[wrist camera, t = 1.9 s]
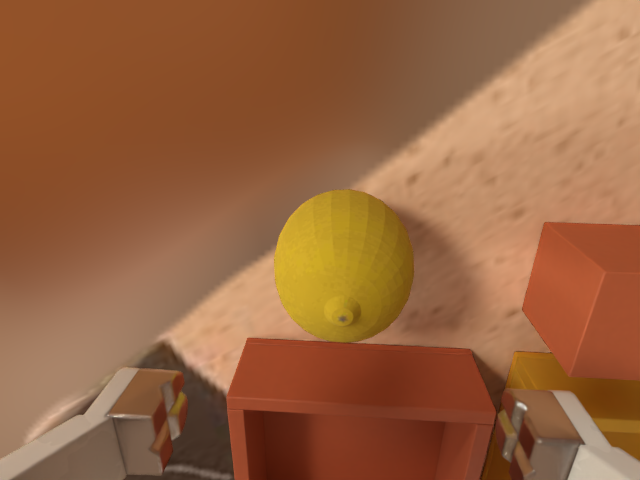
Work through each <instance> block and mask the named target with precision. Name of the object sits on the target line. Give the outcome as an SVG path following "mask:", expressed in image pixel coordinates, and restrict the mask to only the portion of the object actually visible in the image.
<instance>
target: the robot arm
mask: <svg viewBox="0 0 640 480" xmlns="http://www.w3.org/2000/svg"><path fill="white" fill-rule="evenodd" d="M183 385H184V378H183V373H182V372H180V371H173V370H161V369H148V368H142V369H141V368H130V367H123V368H121V369H119V370H118V371H117V372H116V374H115V375H114V376H113V378H112V379H111V380H110V382H109V383H108V384H107V385H106V387H105V388H104V389H103V391H102V392H101V393H100V395H99V396H98V397H97V398H96V400H95V401H94V402H93V404H92V405H91V406H90V408H89V409H88V410H87V411H86V413H85V414H84V415H77V416H75V417H73V418H71V419H70V420H68V421H66V422H64V423H63V424H61V425H59V426H57V427H56V428H54V429H52V430H51V431H49V432H47V433H45V434H44V435H42V436H40V437H38V438H37V439H35V440H33V441H31V442H30V443H28V444H26V445H24V446H23V447H21V448H19V449H17V450H16V451H14V452H12V453H11V454H9V455H7V456H5V457H4V458H2V459H0V480H123V479H124V478H125V477H126V476H127V475H126V474H138V475H162V474H163V472H164V469H165V467H166V465H167V463H168V461H169V459H170V456H171V454H172V452H173V447H172V441H173V440H175V439H176V438H177V437H179V436H180V435H181V432H182V430H183V428H184V425H185V421H186V417H187V406H188V404H187V397H186V396H185V395H184V394H183V393H182V391H181V389H182V387H183ZM501 402H502V404H503V407H504V409H503V410H502V411H501V412H500V413H498V414H497V419H496V424H495V428H496V439H497V444H498V447H499V450H500V452H501V455H502V456H503V457H504V458H505V459H506V460H508V461H509V462H510V463H511V465H510V469H509V475H510V477H511V480H640V461H639V460H637V459H636V458H634V457H633V456H631V455H630V454H628V453H627V452H625V451H624V450H622V449H621V448H619V447H612V446H611V445H610V443H609V442H608V441H607V439H606V438H605V436H604V435H603V433H602V432H601V431H600V429H599V428H598V426H597V425H596V424H595V422H594V421H593V419H592V418H591V417H590V415H589V414H588V412H587V411H586V410H585V408H584V407H583V405H582V404H581V403H580V401H579V400H578V398H577V397H576V395H575V394H574V393H572V392H571V391H563V390H531V389H509V388H506V389H505V390H504V392H503V394H502V398H501Z"/></svg>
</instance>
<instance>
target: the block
mask: <svg viewBox="0 0 640 480" xmlns="http://www.w3.org/2000/svg"><path fill="white" fill-rule="evenodd" d="M522 310H523V312H524V313H525V315H526V316H527V318H528V319H529V320H530V322H531V323H532V325H533V326H534V328H535V329H536V330H537V332H538V333H539V335H540V336H541V338H542V339H543V340H544V342H545V343H546V345H547V346H548V348H549V349H550V351H551V352H552V353H553V355H554V356H555V358H556V359H557V361H558V362H559V363H560V365H561V366H562V368H563V369H564V371H565V372H566V373H567V375H568V376H569V377H582V378H601V379H620V380H638V381H640V225H612V224H583V223H554V222H545V223H544V226H543V230H542V234H541V238H540V242H539V246H538V249H537V253H536V257H535V261H534V265H533V269H532V273H531V276H530V280H529V284H528V288H527V292H526V296H525V300H524V304H523V307H522Z"/></svg>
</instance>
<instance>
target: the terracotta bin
mask: <svg viewBox="0 0 640 480" xmlns="http://www.w3.org/2000/svg"><path fill="white" fill-rule="evenodd" d="M227 407H228V419H229V429H230V438H231V447H232V457H233V466H234V475H235V480H480V476H481V472H482V468H483V465H484V461H485V457H486V453H487V449H488V445H489V442H490V438H491V434H492V430H493V426H494V425H493V424H494V422H495V418H496V414H497V412H496V410H495V407H494V405H493V403H492V400H491V398H490V396H489V393H488V391H487V388H486V386H485V384H484V381H483V379H482V377H481V374H480V372H479V370H478V367H477V365H476V363H475V360H474V358H473V356H472V352H471V350H470V349H457V348H437V347H417V346H397V345H377V344H357V343H337V342H317V341H298V340H278V339H258V338H247V340H246V344H245V347H244V349H243V352H242V355H241V358H240V361H239V363H238V366H237V369H236V372H235V375H234V377H233V380H232V383H231V386H230V389H229V391H228V394H227Z"/></svg>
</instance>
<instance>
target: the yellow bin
mask: <svg viewBox="0 0 640 480" xmlns="http://www.w3.org/2000/svg"><path fill="white" fill-rule="evenodd" d="M506 388H509V389H531V390H563V391H571V392H572V393H574V394H575V395H576V397H577V398H578V400H579V401H580V403H581V404H582V405H583V407H584V408H585V410H586V411H587V412H588V414H589V415H590V417H591V418H592V419H593V421H594V422H595V424H596V425H597V426H598V428H599V429H600V431H601V432H602V433H603V435H604V436H605V438H606V439H607V441H608V442H609V443H610V445H611V446H612V447H619V448H621V449H622V450H624V451H625V452H627V453H628V454H630V455H631V456H633V457H634V458H636V459H637V460H639V461H640V381H638V380H620V379H601V378H582V377H569V376H568V375H567V373H566V372H565V371H564V369H563V368H562V366H561V365H560V363H559V362H558V361H557V359H556V358H555V356H554V355H553V353H536V352H515V353H514V356H513V360H512V364H511V368H510V372H509V375H508V379H507V383H506V387H505V389H506ZM503 409H504V407H503V404H502V402H501V406H500V410H499V413H500V412H501V411H502V410H503ZM510 465H511V463H510V462H509V461H508V460H506V459H505V458H504V457H503V456H502V455H501V452H500V450H499V447H498V444H497V439H496V428H495V429H494V432H493V436H492V440H491V444H490V448H489V451H488V455H487V459H486V463H485V467H484V470H483V474H482V478H481V480H511V477H510V475H509V469H510Z"/></svg>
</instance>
